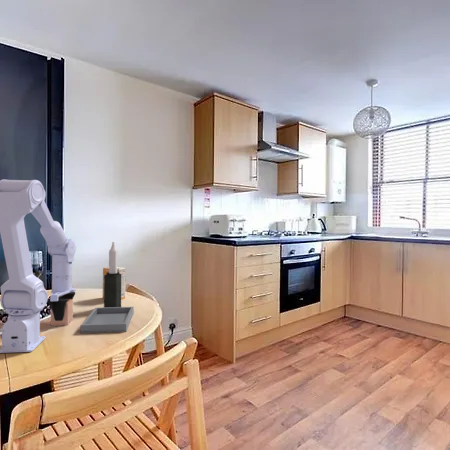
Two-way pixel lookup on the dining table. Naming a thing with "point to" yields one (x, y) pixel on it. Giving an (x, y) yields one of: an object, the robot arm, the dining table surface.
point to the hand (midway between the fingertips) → (62, 317)
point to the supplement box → (123, 279)
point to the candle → (112, 281)
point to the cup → (67, 315)
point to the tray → (108, 320)
